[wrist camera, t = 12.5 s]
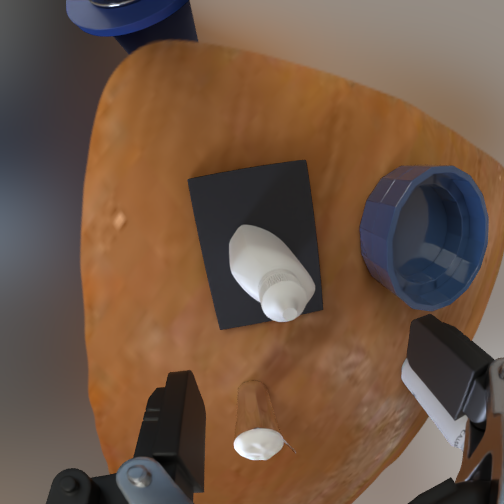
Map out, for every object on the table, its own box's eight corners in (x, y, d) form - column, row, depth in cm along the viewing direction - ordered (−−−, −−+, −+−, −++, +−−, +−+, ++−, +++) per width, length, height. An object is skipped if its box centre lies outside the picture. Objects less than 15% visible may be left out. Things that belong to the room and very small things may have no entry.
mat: (188, 179, 24) (187, 179, 23) (303, 159, 24) (306, 159, 23) (220, 326, 28) (220, 330, 27) (321, 306, 28) (323, 310, 27)
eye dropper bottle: (254, 288, 26) (274, 372, 14) (223, 233, 24) (219, 287, 13) (297, 265, 26) (348, 334, 14) (269, 209, 24) (307, 241, 13)
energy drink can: (391, 383, 32) (447, 462, 18) (407, 344, 31) (477, 422, 16) (424, 377, 33) (481, 445, 18) (440, 341, 31) (509, 406, 17)
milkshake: (282, 397, 31) (299, 464, 21) (237, 407, 31) (242, 475, 21) (275, 369, 29) (292, 439, 20) (226, 380, 29) (228, 451, 20)
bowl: (351, 170, 25) (381, 170, 19) (452, 162, 25) (486, 164, 20) (361, 302, 28) (385, 327, 23) (453, 274, 29) (483, 291, 23)
